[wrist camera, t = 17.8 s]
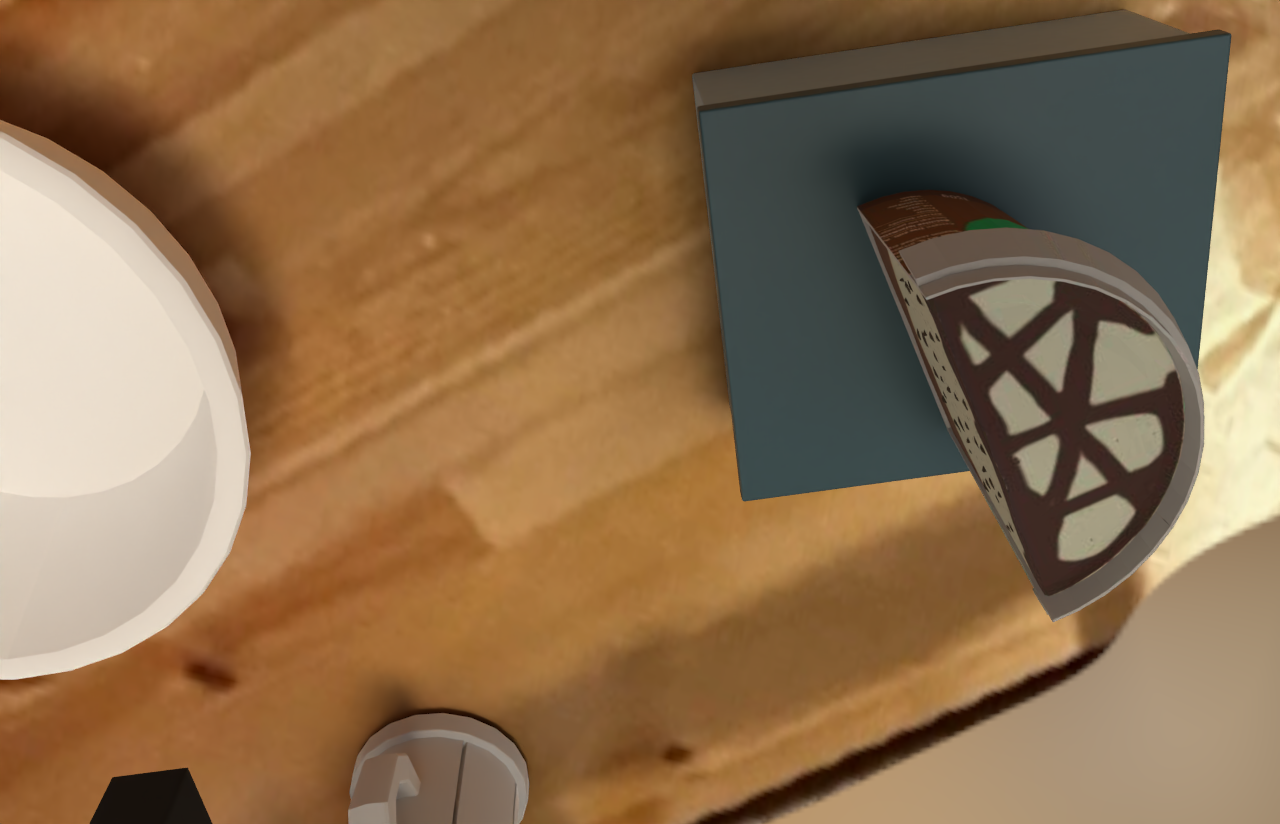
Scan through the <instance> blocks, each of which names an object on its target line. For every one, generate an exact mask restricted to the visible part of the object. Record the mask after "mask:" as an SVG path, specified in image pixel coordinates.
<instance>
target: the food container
mask: <svg viewBox="0 0 1280 824" xmlns="http://www.w3.org/2000/svg"><path fill="white" fill-rule="evenodd" d="M857 209H858V211H859V214H860V216H861V219H862V221H863V223H864V226H865V228H866V231H867V233H868V236H869V238H870V241H871V243H872V246H873V248H874V250H875V253H876V255H877V258H878V260H879V263H880V265H881V268H882V270H883V273H884V275H885V277H886V280H887V282H888V285H889V287H890V290H891V292H892V295H893V297H894V300H895V302H896V304H897V307H898V309H899V312H900V314H901V317H902V319H903V322H904V324H905V327H906V329H907V332H908V334H909V336H910V339H911V341H912V344H913V346H914V349H915V351H916V354H917V356H918V359H919V361H920V363H921V366H922V368H923V371H924V373H925V376H926V378H927V381H928V383H929V386H930V388H931V390H932V393H933V395H934V398H935V400H936V403H937V405H938V408H939V410H940V413H941V415H942V418H943V420H944V422H945V425H946V427H947V430H948V432H949V434H950V435H951V437H952V439H953V441H954V443H955V444H956V446H957V448H958V450H959V452H960V454H961V455H962V457H963V459H964V461H965V463H966V465H967V466H968V468H969V470H970V472H971V474H972V476H973V477H974V479H975V481H976V483H977V485H978V487H979V488H980V490H981V492H982V494H983V496H984V498H985V499H986V501H987V503H988V505H989V507H990V508H991V510H992V512H993V514H994V516H995V518H996V519H997V521H998V523H999V525H1000V527H1001V529H1002V530H1003V532H1004V534H1005V536H1006V538H1007V540H1008V541H1009V543H1010V545H1011V547H1012V549H1013V551H1014V552H1015V554H1016V556H1017V558H1018V560H1019V562H1020V563H1021V565H1022V567H1023V569H1024V571H1025V572H1026V574H1027V576H1028V578H1029V580H1030V582H1031V583H1032V585H1033V587H1034V588H1033V591H1034V593H1035V595H1036V597H1037V598H1038V600H1039V601H1040V603H1041V605H1042V606H1043V608H1044V610H1045V611H1046V613H1047V614H1049V616H1050V618H1051V620H1052V621H1053V622H1055V621H1057V620H1059V619H1061V618H1064V617H1066V616H1068V615H1070V614H1072V613H1075V612H1077V611H1079V610H1081V609H1083V608H1084V607H1086V606H1088V605H1089V604H1091V603H1093V602H1094V601H1096V600H1098V599H1099V598H1101V597H1103V596H1104V595H1106V594H1107V593H1109V592H1110V591H1111V590H1113V589H1114V588H1115V587H1116V586H1118V585H1119V584H1120V583H1122V582H1123V581H1124V580H1125V579H1127V578H1128V577H1129V576H1131V575H1132V574H1133V573H1134V572H1135V571H1136V570H1137V569H1138V568H1139V567H1140V566H1141V565H1142V564H1143V563H1144V562H1145V561H1146V560H1147V559H1148V558H1149V557H1150V556H1151V555H1152V554H1153V553H1154V552H1155V551H1156V549H1157V548H1158V547H1159V545H1160V544H1161V543H1162V541H1163V540H1164V539H1165V537H1166V536H1167V535H1168V534H1169V532H1170V531H1171V530H1172V528H1173V527H1174V525H1175V523H1176V521H1177V520H1178V518H1179V516H1180V514H1181V513H1182V511H1183V509H1184V507H1185V505H1186V504H1187V502H1188V499H1189V497H1190V494H1191V492H1192V489H1193V486H1194V484H1195V481H1196V478H1197V476H1198V472H1199V467H1200V462H1201V457H1202V452H1203V447H1204V401H1203V395H1202V389H1201V383H1200V377H1199V373H1198V370H1197V368H1196V365H1195V362H1194V360H1193V357H1192V355H1191V352H1190V349H1189V347H1188V345H1187V343H1186V341H1185V339H1184V337H1183V335H1182V333H1181V331H1180V329H1179V326H1178V324H1177V322H1176V320H1175V318H1174V317H1173V315H1172V314H1171V312H1170V311H1169V309H1168V308H1167V306H1166V305H1165V303H1164V302H1163V300H1162V299H1161V297H1160V295H1159V294H1158V293H1157V292H1156V291H1155V290H1154V289H1153V288H1152V287H1151V286H1150V285H1149V284H1148V283H1147V282H1146V280H1145V279H1144V278H1143V277H1142V276H1141V275H1140V274H1139V273H1138V272H1137V271H1135V270H1134V269H1133V268H1131V267H1130V266H1128V265H1127V264H1125V263H1124V262H1122V261H1121V260H1119V259H1118V258H1116V257H1115V256H1113V255H1112V254H1110V253H1109V252H1107V251H1104V250H1102V249H1100V248H1098V247H1095V246H1093V245H1091V244H1088V243H1086V242H1084V241H1082V240H1079V239H1076V238H1072V237H1068V236H1064V235H1060V234H1056V233H1052V232H1048V231H1044V230H1032V229H1028V228H1027V227H1025V226H1024V225H1022V224H1021V223H1019V222H1018V221H1016V220H1015V219H1013V218H1012V217H1011V216H1009V215H1007V214H1006V213H1004V212H1003V211H1001V210H1000V209H998V208H997V207H995V206H994V205H992V204H990V203H987V202H985V201H983V200H980V199H978V198H975V197H973V196H969V195H965V194H961V193H956V192H952V191H940V190H917V191H905V192H900V193H896V194H892V195H887V196H883V197H880V198H877V199H875V200H872V201H869V202H867V203H864V204H862V205H859V206H857Z"/></svg>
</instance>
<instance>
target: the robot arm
mask: <svg viewBox="0 0 1280 824" xmlns="http://www.w3.org/2000/svg"><path fill="white" fill-rule="evenodd" d="M90 824H212V822H211V820H210V817H209V815H208V813H207V811H206V808H205V806H204V804H203V801H202V799H201V797H200V795H199V792H198V790H197V788H196V785H195V783H194V781H193V779H192V776H191V774H190V772H189V770H188V768H181V769H174V770H166V771H158V772H150V773H143V774H135V775H127V776H120V777H113V778H112V780H111V782H110V784H109V786H108V788H107V790H106V792H105V794H104V796H103V798H102V800H101V802H100V804H99V806H98V808H97V810H96V812H95V814H94V816H93V818H92V820H91V822H90Z"/></svg>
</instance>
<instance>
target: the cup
mask: <svg viewBox="0 0 1280 824" xmlns="http://www.w3.org/2000/svg"><path fill="white" fill-rule="evenodd" d="M349 793H350V797H351V803H350V806H349V809H348V820H349V824H519V823H520V822H521V820H522V819H523V816H524V812H525V809H526V805H527V802H528V793H529V778H528V772H527V765H526V762H525V760H524V759H523V757H522V755H521V754H520V752H519V750H518V749H517V747H516V745H515V744H514V743H513V742H512V741H510V740H509V739H508V738H507V737H505V736H504V735H503V734H502V733H501V732H499V731H498V730H497V729H496V728H494V727H491V726H489V725H487V724H484V723H482V722H480V721H477V720H475V719H473V718H470V717H464V716H458V715H452V714H446V713H436V714H423V715H414V716H411V717H408V718H405V719H402V720H399V721H396V722H393V723H390V724H388V725H387V726H386V727H384V728H383V729H381V730H380V731H379V732H377V733H376V734H374V735H373V736H371V737H370V738H369V740H368V741H367V742H366V744H365V745H364V747H363V748H362V750H361V751H360V753H359V754H358V756H357V759H356V763H355V767H354V771H353V776H352V781H351V787H350V792H349Z"/></svg>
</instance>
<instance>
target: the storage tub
mask: <svg viewBox="0 0 1280 824" xmlns="http://www.w3.org/2000/svg"><path fill="white" fill-rule="evenodd" d="M1230 43H1231V34H1230V33H1228V32H1225V31H1222V30H1212V31H1205V32H1199V33H1192V34H1190V33H1187V32H1184V31H1181V30H1179V29H1176V28H1173V27H1171V26H1168V25H1165V24H1163V23H1160V22H1157V21H1155V20H1152V19H1149V18H1147V17H1144V16H1141V15H1139V14H1136V13H1133V12H1131V11H1128V10H1118V11H1112V12H1105V13H1098V14H1091V15H1085V16H1078V17H1071V18H1064V19H1058V20H1051V21H1044V22H1037V23H1031V24H1024V25H1017V26H1010V27H1004V28H997V29H990V30H983V31H976V32H970V33H963V34H956V35H949V36H943V37H936V38H929V39H922V40H916V41H909V42H902V43H895V44H889V45H882V46H875V47H868V48H862V49H855V50H848V51H841V52H834V53H828V54H821V55H814V56H807V57H801V58H794V59H787V60H780V61H774V62H767V63H760V64H753V65H747V66H740V67H733V68H726V69H720V70H713V71H706V72H699V73H694V74H692V79H693V88H694V97H695V105H696V114H697V123H698V132H699V140H700V149H701V158H702V167H703V176H704V184H705V193H706V202H707V211H708V220H709V228H710V237H711V246H712V255H713V263H714V272H715V281H716V290H717V299H718V307H719V316H720V325H721V334H722V343H723V351H724V360H725V369H726V378H727V386H728V395H729V404H730V409H731V414H732V423H733V432H734V440H735V449H736V458H737V467H738V476H739V485H740V492H741V497H742V500H743V501H751V500H758V499H765V498H773V497H780V496H787V495H795V494H802V493H810V492H817V491H824V490H832V489H839V488H847V487H854V486H861V485H869V484H876V483H884V482H891V481H898V480H906V479H913V478H921V477H928V476H935V475H943V474H950V473H957V472H965V471H970V470H969V468H968V466H967V465H966V463H965V461H964V459H963V457H962V455H961V454H960V452H959V450H958V448H957V446H956V444H955V443H954V441H953V439H952V437H951V435H950V434H949V432H948V430H947V427H946V425H945V422H944V420H943V418H942V415H941V413H940V410H939V408H938V405H937V403H936V400H935V398H934V395H933V393H932V390H931V388H930V386H929V383H928V381H927V378H926V376H925V373H924V371H923V368H922V366H921V363H920V361H919V359H918V356H917V354H916V351H915V349H914V346H913V344H912V341H911V339H910V336H909V334H908V332H907V329H906V327H905V324H904V322H903V319H902V317H901V314H900V312H899V309H898V307H897V304H896V302H895V300H894V297H893V295H892V292H891V290H890V287H889V285H888V282H887V280H886V277H885V275H884V273H883V270H882V268H881V265H880V263H879V260H878V258H877V255H876V253H875V250H874V248H873V246H872V243H871V241H870V238H869V236H868V233H867V231H866V228H865V226H864V223H863V221H862V219H861V216H860V214H859V211H858V209H857V206H859V205H862V204H864V203H867V202H869V201H872V200H875V199H877V198H880V197H883V196H887V195H892V194H896V193H900V192H905V191H917V190H940V191H952V192H956V193H961V194H965V195H969V196H973V197H975V198H978V199H980V200H983V201H985V202H987V203H990V204H992V205H994V206H995V207H997V208H998V209H1000V210H1001V211H1003V212H1004V213H1006V214H1007V215H1009V216H1011V217H1012V218H1013V219H1015V220H1016V221H1018V222H1019V223H1021V224H1022V225H1024V226H1025V227H1027V228H1028V229H1032V230H1044V231H1048V232H1052V233H1056V234H1060V235H1064V236H1068V237H1072V238H1076V239H1079V240H1082V241H1084V242H1086V243H1088V244H1091V245H1093V246H1095V247H1098V248H1100V249H1102V250H1104V251H1107V252H1109V253H1110V254H1112V255H1113V256H1115V257H1116V258H1118V259H1119V260H1121V261H1122V262H1124V263H1125V264H1127V265H1128V266H1130V267H1131V268H1133V269H1134V270H1135V271H1137V272H1138V273H1139V274H1140V275H1141V276H1142V277H1143V278H1144V279H1145V280H1146V282H1147V283H1148V284H1149V285H1150V286H1151V287H1152V288H1153V289H1154V290H1155V291H1156V292H1157V293H1158V294H1159V295H1160V297H1161V299H1162V300H1163V302H1164V303H1165V305H1166V306H1167V308H1168V309H1169V311H1170V312H1171V314H1172V315H1173V317H1174V318H1175V320H1176V322H1177V324H1178V326H1179V329H1180V331H1181V333H1182V335H1183V337H1184V339H1185V341H1186V343H1187V345H1188V347H1189V349H1190V352H1191V355H1192V357H1193V360H1194V362H1195V365H1196V368H1197V369H1198V359H1199V349H1200V339H1201V329H1202V319H1203V309H1204V300H1205V290H1206V280H1207V270H1208V260H1209V250H1210V240H1211V231H1212V221H1213V211H1214V201H1215V191H1216V181H1217V171H1218V161H1219V152H1220V142H1221V132H1222V122H1223V112H1224V102H1225V92H1226V83H1227V73H1228V63H1229V53H1230Z"/></svg>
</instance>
